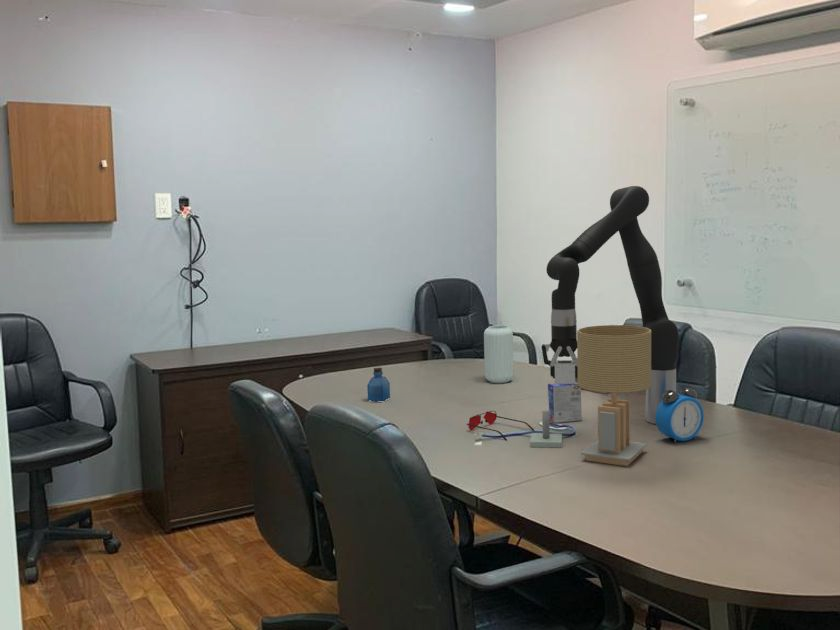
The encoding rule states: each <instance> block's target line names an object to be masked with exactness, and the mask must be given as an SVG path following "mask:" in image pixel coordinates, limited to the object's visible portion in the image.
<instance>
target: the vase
mask: <svg viewBox="0 0 840 630" xmlns="http://www.w3.org/2000/svg"><path fill="white" fill-rule="evenodd" d="M483 352H484V353H483V354H484V356H483V357H484V359H483V360H484V378H486V380H487V381H489V383H492V384H507V383H508V382H510V381H511V380H512V379H513V378H514V334H513V330H512V329H511V328H510V327H509V326H508V325H497V324H496V325H489V326H488V327H487V328H486V329H484V332H483Z"/></svg>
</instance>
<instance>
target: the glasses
mask: <svg viewBox="0 0 840 630" xmlns="http://www.w3.org/2000/svg"><path fill="white" fill-rule="evenodd" d="M482 415H484V416H482ZM482 418H483V419H484V420H481V419H482ZM497 418H500V419H503V420H509V421H513V422H519V423H523V424H525V425H527V426H528V428H529V429H530V430H531V431H533V432H536V430H535V429H534V428H533V427H532V426H531V425H530V424H528V423H527V422H526V421H522V420H518V419H512V418H508V417H504V416H498V414H497V411H496V410H490V411H488V410H487V411H485V412H483V413H479V414H476V415H473V416H470V417H469V420H468V423H466V424H465V425H466V426H468V430H469V431H471V432H472V431H473V430H474V429H476V428H479V429H483V430H487V431H492V432H496V433H498V434H499V435H500V436H501V437H502V438H503V439H504V441H505V442H507V441H508V439H507V438H506V436H504V434H503V433H502V432H501V431H499V430H496V429H492V428H488V427H484V426H480V425H483V422H485V423H486V424H489V425H493V424H494V423H495V421H496V420H497Z"/></svg>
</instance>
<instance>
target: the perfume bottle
mask: <svg viewBox="0 0 840 630" xmlns="http://www.w3.org/2000/svg"><path fill="white" fill-rule="evenodd" d="M382 370H383V368H382V367H373V374H372V375H374V376H373V377H371V378H370V379H369V381H368V383H367V401H368V400H371V401H385V400H386V399H388V398H390V399H391V388H390V387H391V385H390V384H391V383H390V381H389V379H388V378H387V377H386V376H383V371H382ZM385 402H386V401H385Z"/></svg>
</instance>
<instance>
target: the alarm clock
mask: <svg viewBox="0 0 840 630" xmlns="http://www.w3.org/2000/svg"><path fill="white" fill-rule="evenodd" d="M697 398H698V393H697V392H696V390H694V389H693V387H683V388H682V389H681V390H679V391H677V390H676V391H674V390H669V391H666V392H665V393H664V394H663V395H662V401H661V403H660V404H659V406H658V408H657V411H656V424H655V425H656V426H657V429H658V430H659V432H660V433H661V434H662V435H664V436H666V437H668V438H671V439H673V440H674V443H677V441H680V442H687V441H690V440H691V439H692V440H695V438H694V437H696V436H697V435H698V434H699V432H700V431H701V428H702V426H703V423H704V417H705V414H704V409H703V406H702V404H701V403H700V401H699V400H698V399H697Z"/></svg>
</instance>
